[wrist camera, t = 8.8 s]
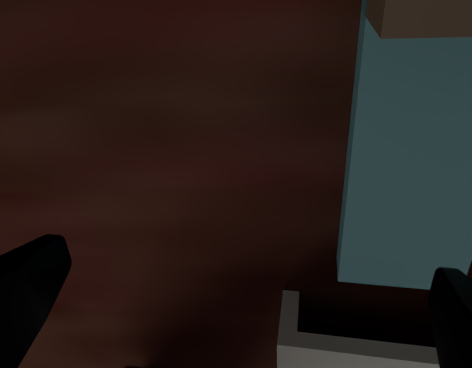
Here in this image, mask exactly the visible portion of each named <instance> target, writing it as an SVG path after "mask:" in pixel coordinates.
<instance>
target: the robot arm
mask: <svg viewBox="0 0 472 368" xmlns="http://www.w3.org/2000/svg"><path fill="white" fill-rule="evenodd" d="M70 268H71V257H70V254H69V251H68V247H67V244H66V241H65V239H64V237H63V236H61V235H53V234H46V235H44V236H41V237H39V238H37V239H35V240H33V241H31V242H28V243H26V244H24V245H22V246H20V247H18V248H15V249H13V250H11V251H9V252H7V253H5V254H3V255H0V368H18V366H19V365H20V363H21V361H22V360H23V358H24V356H25V355H26V353H27V351H28V350H29V348H30V346H31V345H32V343H33V341H34V340H35V338H36V336H37V335H38V333H39V331H40V330H41V328H42V326H43V324H44V323H45V321H46V319H47V317H48V315H49V313H50V311H51V309H52V307H53V305H54V303H55V301H56V298H57V296H58V294H59V292H60V290H61V288H62V286H63V284H64V282H65V279H66V277H67V275H68V273H69V271H70ZM428 306H429V312H430V317H431V323H432V329H433V334H434V340H435V345H436V351H437V357H438V362H439V367H440V368H472V279H470V278H469V277H468V276H467V275H466V274H464V273H463V272H462V271H461V270H459V269H457V268H449V267H438V268H437V269H436V270H435V273H434V276H433V280H432V283H431V287H430V291H429V294H428Z"/></svg>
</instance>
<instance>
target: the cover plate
mask: <svg viewBox="0 0 472 368" xmlns="http://www.w3.org/2000/svg"><path fill="white" fill-rule="evenodd" d="M471 261H472V0H362V8H361V18H360V28H359V38H358V48H357V58H356V68H355V78H354V88H353V98H352V108H351V118H350V128H349V138H348V148H347V158H346V168H345V178H344V188H343V198H342V208H341V218H340V228H339V238H338V248H337V275H338V282H350V283H361V284H372V285H383V286H394V287H405V288H416V289H427V290H430V287H431V283H432V280H433V276H434V273H435V270H436V269H437V268H438V267H449V268H457V269H459V270H461V271H462V272H463V273H464V274H466V275H467V273H468V270H469V267H470V264H471Z"/></svg>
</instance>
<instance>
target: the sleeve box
mask: <svg viewBox="0 0 472 368" xmlns="http://www.w3.org/2000/svg"><path fill="white" fill-rule="evenodd" d="M298 310H299V291H289V290H283V294H282V304H281V313H280V322H279V331H278V341H277V368H440V367H439V362H438V357H437V351H436V348H435V347H426V346H418V345H409V344H400V343H391V342H383V341H374V340H365V339H357V338H348V337H339V336H331V335H322V334H313V333H305V332H298Z"/></svg>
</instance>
